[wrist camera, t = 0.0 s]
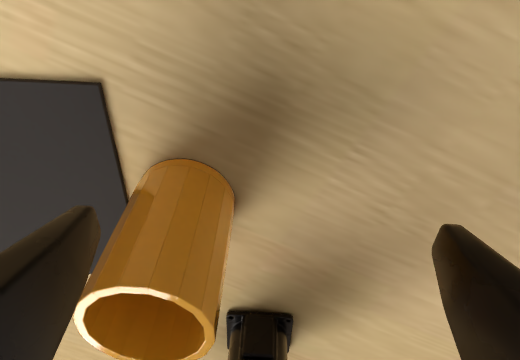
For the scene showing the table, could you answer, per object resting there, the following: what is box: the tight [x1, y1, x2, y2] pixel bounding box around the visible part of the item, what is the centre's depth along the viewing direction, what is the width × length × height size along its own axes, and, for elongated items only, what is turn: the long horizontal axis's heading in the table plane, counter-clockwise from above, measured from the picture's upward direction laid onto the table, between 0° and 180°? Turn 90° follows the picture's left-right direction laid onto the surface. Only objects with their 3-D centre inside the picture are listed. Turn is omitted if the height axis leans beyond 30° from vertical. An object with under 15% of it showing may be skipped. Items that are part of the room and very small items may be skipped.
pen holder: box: [73, 159, 235, 360], centre depth 24 cm, size 7×7×11 cm
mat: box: [0, 78, 128, 274], centre depth 28 cm, size 18×16×1 cm
